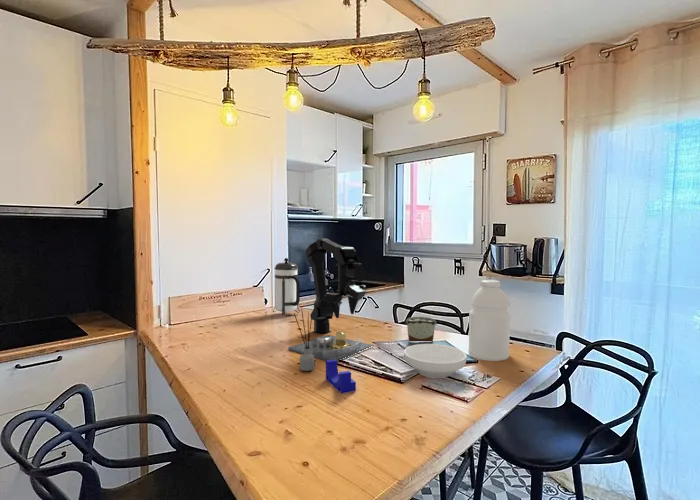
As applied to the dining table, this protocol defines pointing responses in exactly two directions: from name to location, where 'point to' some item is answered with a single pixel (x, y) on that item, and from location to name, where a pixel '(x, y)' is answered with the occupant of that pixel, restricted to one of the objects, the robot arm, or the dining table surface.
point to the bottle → (489, 323)
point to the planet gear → (340, 341)
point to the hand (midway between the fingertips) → (344, 316)
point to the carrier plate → (323, 348)
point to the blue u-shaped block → (339, 378)
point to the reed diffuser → (306, 351)
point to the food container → (420, 328)
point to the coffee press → (286, 287)
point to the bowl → (435, 359)
